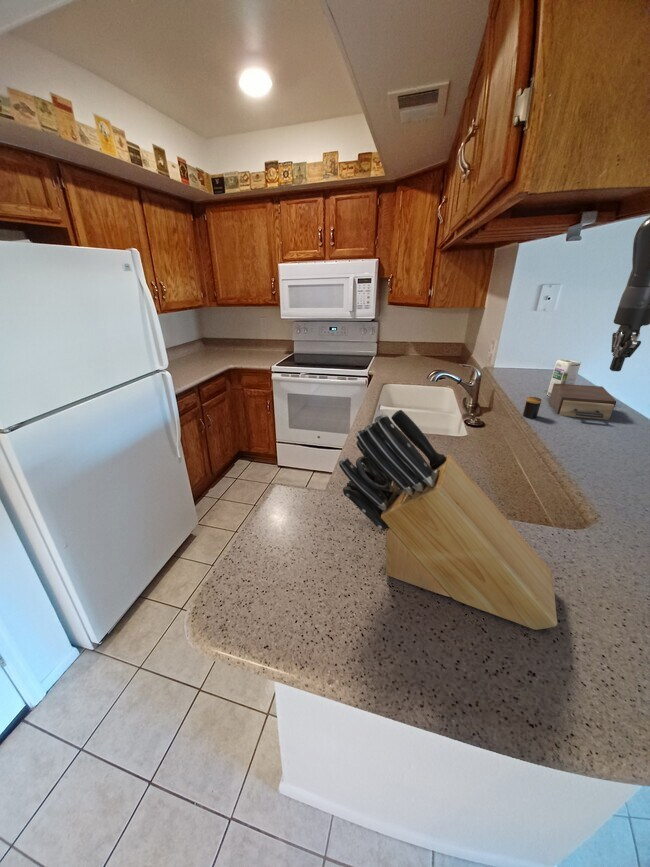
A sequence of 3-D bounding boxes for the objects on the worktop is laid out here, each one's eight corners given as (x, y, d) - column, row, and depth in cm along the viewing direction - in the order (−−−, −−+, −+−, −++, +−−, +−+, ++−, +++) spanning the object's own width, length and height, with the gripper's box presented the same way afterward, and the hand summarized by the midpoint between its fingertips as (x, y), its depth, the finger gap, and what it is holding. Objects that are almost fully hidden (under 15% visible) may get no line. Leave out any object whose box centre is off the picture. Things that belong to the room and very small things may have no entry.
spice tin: (535, 418, 114) (540, 397, 110) (536, 424, 110) (542, 402, 107) (520, 417, 116) (525, 396, 112) (522, 422, 112) (527, 400, 108)
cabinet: (608, 423, 108) (616, 401, 105) (555, 418, 114) (562, 397, 110) (595, 406, 120) (602, 386, 117) (548, 402, 126) (553, 383, 122)
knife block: (360, 522, 73) (360, 391, 59) (547, 581, 57) (607, 422, 43) (338, 559, 64) (331, 415, 50) (551, 640, 48) (629, 465, 34)
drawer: (612, 427, 104) (619, 410, 101) (561, 422, 109) (566, 405, 106) (596, 406, 118) (601, 391, 115) (552, 402, 123) (556, 388, 120)
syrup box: (545, 395, 132) (555, 360, 126) (558, 393, 133) (568, 358, 127) (558, 400, 127) (568, 363, 121) (570, 398, 128) (581, 361, 122)
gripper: (668, 307, 77) (640, 378, 85) (645, 301, 88) (622, 365, 96) (628, 308, 80) (605, 376, 88) (611, 302, 91) (591, 363, 99)
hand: (614, 370), depth 92 cm, fingers closed
